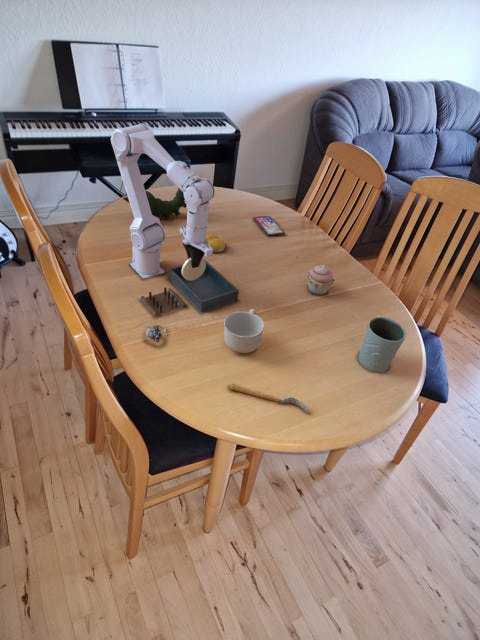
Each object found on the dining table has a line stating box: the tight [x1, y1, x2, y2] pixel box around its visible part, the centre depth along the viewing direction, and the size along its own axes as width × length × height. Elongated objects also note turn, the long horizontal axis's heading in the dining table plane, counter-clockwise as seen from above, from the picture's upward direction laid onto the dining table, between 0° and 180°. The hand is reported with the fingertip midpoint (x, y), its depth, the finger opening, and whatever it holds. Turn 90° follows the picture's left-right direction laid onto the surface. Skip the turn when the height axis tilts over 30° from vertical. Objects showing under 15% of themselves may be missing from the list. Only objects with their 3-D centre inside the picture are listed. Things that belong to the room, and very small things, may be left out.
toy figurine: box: [122, 187, 187, 221], centre depth 166 cm, size 9×19×25 cm
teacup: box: [223, 308, 265, 354], centre depth 120 cm, size 14×11×8 cm
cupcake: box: [306, 263, 336, 296], centre depth 144 cm, size 9×9×10 cm
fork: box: [229, 383, 310, 413], centre depth 107 cm, size 2×2×20 cm
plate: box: [181, 257, 206, 281], centre depth 130 cm, size 1×8×8 cm, turn 126°
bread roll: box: [206, 233, 226, 253], centre depth 159 cm, size 8×9×4 cm
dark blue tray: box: [167, 258, 240, 313], centre depth 137 cm, size 20×14×4 cm
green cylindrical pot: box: [358, 316, 407, 373], centre depth 119 cm, size 10×10×12 cm
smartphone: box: [253, 215, 285, 237], centre depth 178 cm, size 8×1×15 cm
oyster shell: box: [144, 324, 168, 343], centre depth 118 cm, size 7×8×2 cm
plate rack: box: [140, 287, 186, 317], centre depth 129 cm, size 9×10×3 cm
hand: (193, 265), depth 130 cm, fingers closed on plate, 1 cm apart
